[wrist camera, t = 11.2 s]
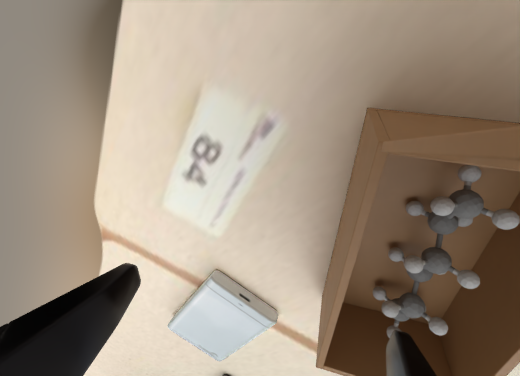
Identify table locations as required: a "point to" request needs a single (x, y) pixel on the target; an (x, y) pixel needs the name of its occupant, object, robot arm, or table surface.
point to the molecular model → (436, 259)
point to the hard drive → (222, 317)
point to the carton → (414, 243)
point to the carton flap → (465, 147)
